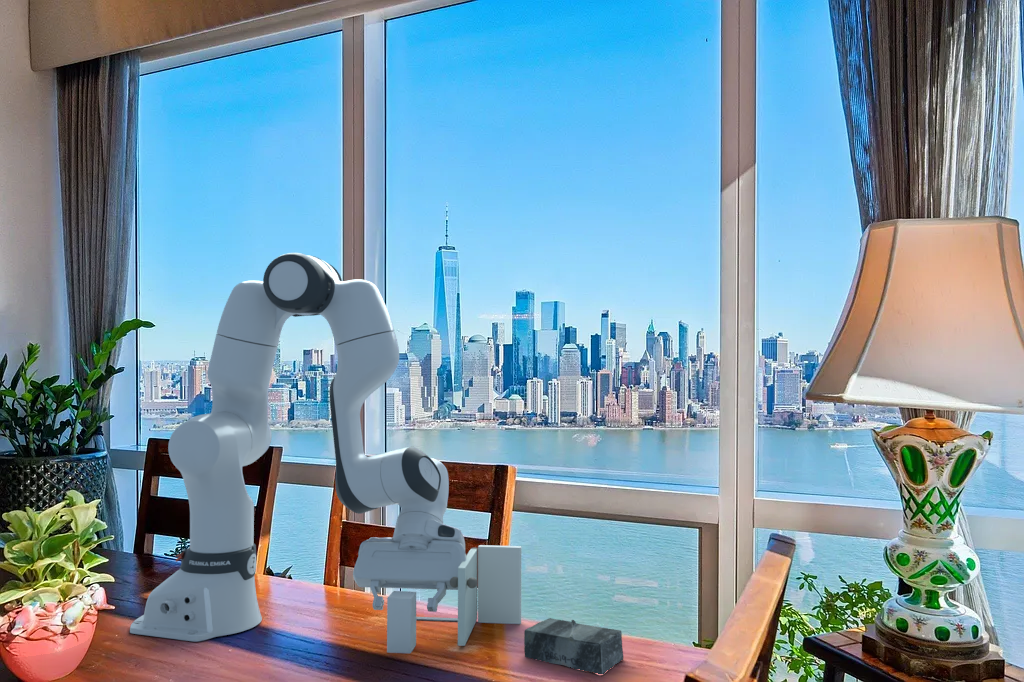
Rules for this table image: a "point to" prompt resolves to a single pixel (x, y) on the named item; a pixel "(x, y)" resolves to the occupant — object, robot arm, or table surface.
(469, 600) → the door
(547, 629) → the stone block
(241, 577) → the robot arm
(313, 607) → the table surface
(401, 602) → the light grey block
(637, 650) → the table surface
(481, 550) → the wall
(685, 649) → the table surface
